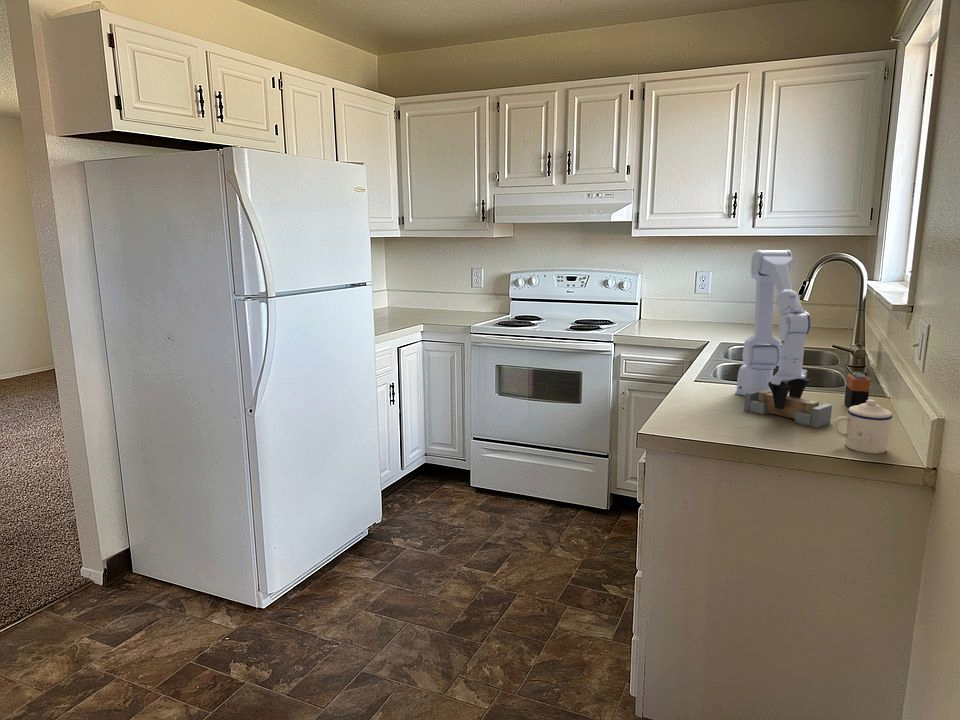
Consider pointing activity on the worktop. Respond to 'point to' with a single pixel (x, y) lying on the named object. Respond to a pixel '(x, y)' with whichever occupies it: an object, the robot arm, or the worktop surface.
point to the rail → (787, 405)
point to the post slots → (816, 419)
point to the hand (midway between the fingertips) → (786, 406)
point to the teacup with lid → (866, 427)
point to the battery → (856, 389)
